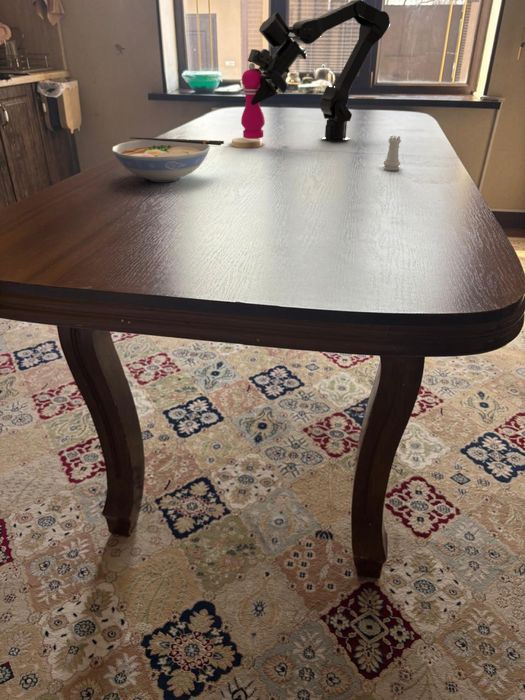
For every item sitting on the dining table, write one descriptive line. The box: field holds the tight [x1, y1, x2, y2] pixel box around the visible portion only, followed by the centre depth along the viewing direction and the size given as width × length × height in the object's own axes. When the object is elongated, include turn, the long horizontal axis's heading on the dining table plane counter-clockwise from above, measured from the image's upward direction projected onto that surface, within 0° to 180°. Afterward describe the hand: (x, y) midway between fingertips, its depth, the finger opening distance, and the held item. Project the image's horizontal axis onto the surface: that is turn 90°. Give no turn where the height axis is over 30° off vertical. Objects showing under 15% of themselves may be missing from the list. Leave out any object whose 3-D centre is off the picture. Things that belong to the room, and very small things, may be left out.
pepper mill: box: [240, 62, 266, 139], centre depth 156 cm, size 7×7×20 cm
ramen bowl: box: [111, 137, 225, 183], centre depth 124 cm, size 25×23×8 cm
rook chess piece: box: [382, 135, 402, 172], centre depth 134 cm, size 4×4×8 cm
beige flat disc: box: [230, 137, 263, 149], centre depth 164 cm, size 10×10×2 cm
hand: (248, 103), depth 155 cm, fingers closed on pepper mill, 4 cm apart
